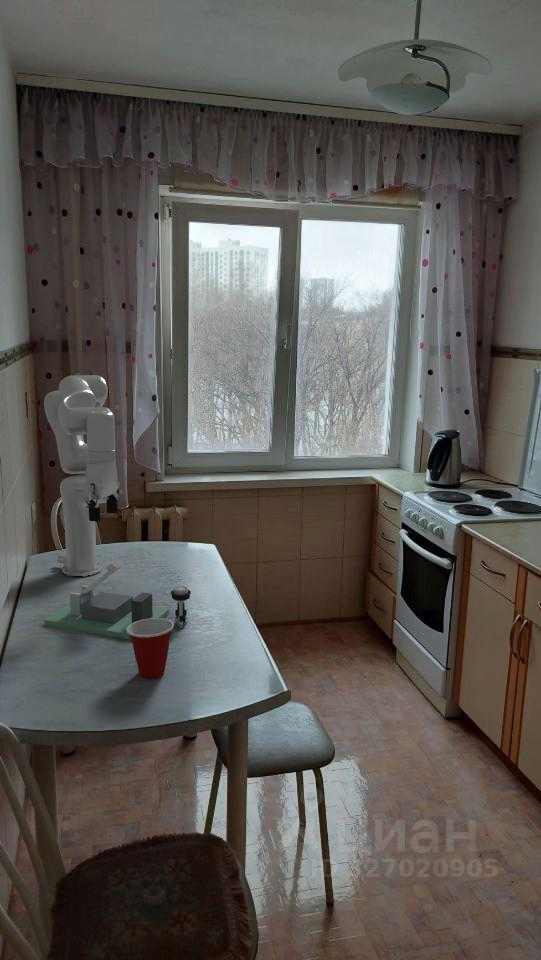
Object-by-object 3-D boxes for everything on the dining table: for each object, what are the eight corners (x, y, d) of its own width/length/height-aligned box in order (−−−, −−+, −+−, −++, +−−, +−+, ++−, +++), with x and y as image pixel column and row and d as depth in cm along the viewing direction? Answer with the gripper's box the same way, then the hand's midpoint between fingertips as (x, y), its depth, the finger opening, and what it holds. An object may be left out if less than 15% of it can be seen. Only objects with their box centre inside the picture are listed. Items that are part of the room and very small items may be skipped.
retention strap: (77, 600, 192) (72, 594, 192) (86, 595, 196) (81, 588, 196) (117, 569, 185) (112, 562, 186) (125, 564, 190) (120, 557, 190)
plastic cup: (153, 657, 171) (152, 611, 168) (184, 671, 164) (183, 624, 162) (117, 674, 163) (116, 625, 160) (148, 689, 156) (147, 639, 153)
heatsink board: (44, 624, 188) (42, 596, 186) (81, 600, 205) (80, 574, 203) (137, 640, 180) (137, 611, 178) (169, 614, 197) (168, 587, 195)
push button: (190, 629, 187) (190, 594, 185) (170, 629, 187) (170, 594, 184) (190, 619, 194) (190, 584, 191) (171, 619, 193) (170, 585, 191)
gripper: (106, 450, 202) (107, 508, 206) (71, 460, 186) (74, 523, 190) (129, 452, 200) (130, 510, 204) (96, 462, 184) (99, 526, 188)
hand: (103, 516), depth 197 cm, fingers open, 8 cm apart
